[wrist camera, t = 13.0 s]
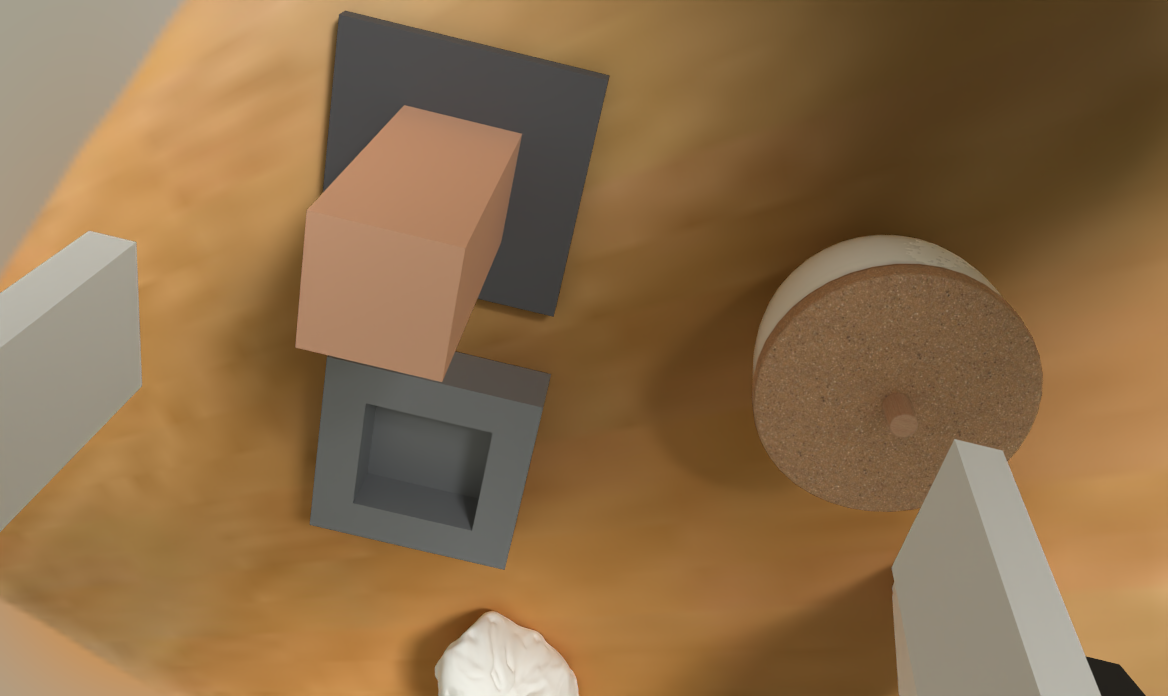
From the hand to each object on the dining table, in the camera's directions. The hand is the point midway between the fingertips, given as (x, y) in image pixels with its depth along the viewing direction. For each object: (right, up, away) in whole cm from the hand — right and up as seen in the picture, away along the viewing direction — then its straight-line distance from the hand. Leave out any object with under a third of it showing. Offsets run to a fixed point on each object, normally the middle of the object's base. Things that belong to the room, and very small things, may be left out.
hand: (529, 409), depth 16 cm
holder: (-7, -3, +34) cm, 35 cm away
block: (-5, +8, +26) cm, 28 cm away
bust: (-3, -18, +42) cm, 45 cm away
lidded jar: (+13, +3, +29) cm, 32 cm away
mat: (-5, +9, +27) cm, 29 cm away
